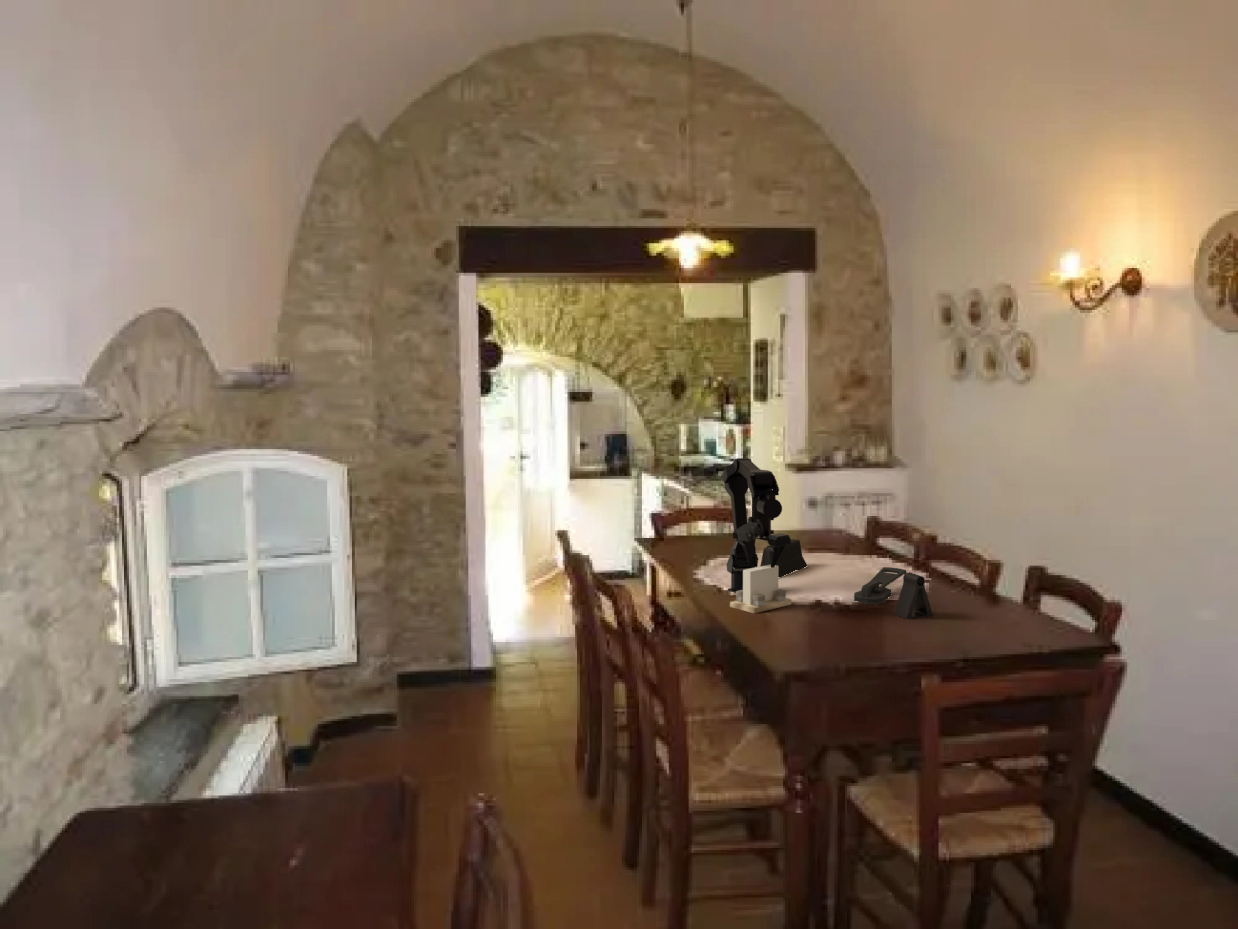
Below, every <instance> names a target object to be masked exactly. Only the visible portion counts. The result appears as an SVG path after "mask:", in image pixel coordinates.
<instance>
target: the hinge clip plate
mask: <svg viewBox="0 0 1238 929" xmlns="http://www.w3.org/2000/svg"><path fill="white" fill-rule="evenodd" d="M791 605H792V599H791V598H787V591H786V590H785V589H778V590H776V591H774V600H769V601H765V595H762V594H758V595H753V604H752V605H749V604H745V603H743V590H740V591H736V592H735V600H734V601H733V600H732V601H730V602H729V607H730V608H732V609H733V608H734V609H737V610H740V611H745V612H748V613H752V614H758V613H762V612H765V611H770V610H773V609H774V610H775V609H777V608H782V607H787V606H791Z"/></svg>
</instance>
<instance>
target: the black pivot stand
mask: <svg viewBox="0 0 1238 929" xmlns="http://www.w3.org/2000/svg"><path fill="white" fill-rule="evenodd" d="M902 576H903V578H902V579H903V583H902V586H901V590H900V593H899V595H898V599H897V602H896V605H895V608H894V611H893V614H894V615H895V616H899V617H900V618H902V619H905V620H912V619H920V618H930V617H933V616H934V614H933V610H932V606H931V604H930V600H929V597H928V593H927V591H926V586H925V582H926V578H925V577H924V576H922V575H920V574H916V573H912V572H910V571H909V572H907V571H906V573H905V574H904V575H902Z"/></svg>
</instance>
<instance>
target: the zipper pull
mask: <svg viewBox="0 0 1238 929" xmlns="http://www.w3.org/2000/svg"><path fill="white" fill-rule="evenodd" d="M906 572H907V570H906V569H904V568H898V567H889V566H886V567H885V566H884V567H882V568H881V569H880V570H879V571H878V572H877V573H876V574H875V575H874V577H873V578H872V579H871V580H869V581H868V582H866V583H864V584H863V585H862V587H861V589H860V590H859V591H856V592H854V593H853V602H854V601H858V602H860V603H859V604H863V603H864V605H872V604H873V605H875V606H877V605H882V604H884V603H885V602H886V601H887V600H888V597H890V596H891V597H892V589H891V588H888V586H889V585H890V584H892V583H893V582H895V581H896V580H897V579H899V578H901V577H902V576H904V574H905V573H906ZM891 597H890V598H891ZM884 601H885V602H884ZM858 602H857V603H858ZM883 602H884V603H883ZM881 603H882V604H881Z"/></svg>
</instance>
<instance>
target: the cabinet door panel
mask: <svg viewBox="0 0 1238 929" xmlns="http://www.w3.org/2000/svg"><path fill="white" fill-rule="evenodd" d="M776 590H779V578H778V566H776V565H775V567H774V568H771V565H766V566H760V565H759V566H757V567H755V568H750V569H745V570H743V603H745V604H749V605H752V604H753V595H758V594H762V595H765V601H769V600H774V591H776Z"/></svg>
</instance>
